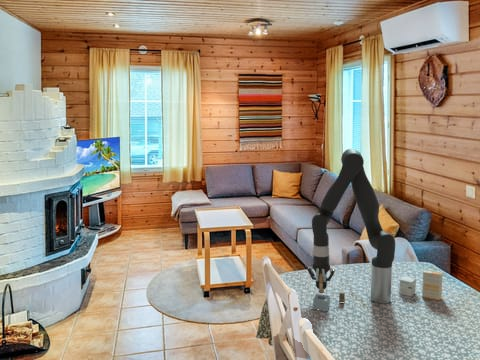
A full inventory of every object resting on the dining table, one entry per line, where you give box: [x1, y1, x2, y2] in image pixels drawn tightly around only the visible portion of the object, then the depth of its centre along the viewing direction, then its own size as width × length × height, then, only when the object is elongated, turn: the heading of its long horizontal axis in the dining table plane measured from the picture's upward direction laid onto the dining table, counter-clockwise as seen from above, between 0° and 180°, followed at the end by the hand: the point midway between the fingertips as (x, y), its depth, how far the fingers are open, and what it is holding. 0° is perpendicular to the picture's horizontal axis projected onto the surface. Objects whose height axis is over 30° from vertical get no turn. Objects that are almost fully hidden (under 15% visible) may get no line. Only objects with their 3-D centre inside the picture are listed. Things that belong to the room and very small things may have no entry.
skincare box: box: [398, 276, 417, 297], centre depth 219 cm, size 6×6×7 cm
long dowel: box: [318, 273, 325, 294], centre depth 213 cm, size 2×2×10 cm
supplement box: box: [421, 268, 444, 301], centre depth 213 cm, size 8×5×13 cm, turn 58°
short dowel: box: [338, 291, 346, 303], centre depth 210 cm, size 2×2×4 cm
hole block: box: [312, 293, 331, 311], centre depth 204 cm, size 6×6×5 cm
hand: (321, 288), depth 213 cm, fingers closed on long dowel, 2 cm apart
